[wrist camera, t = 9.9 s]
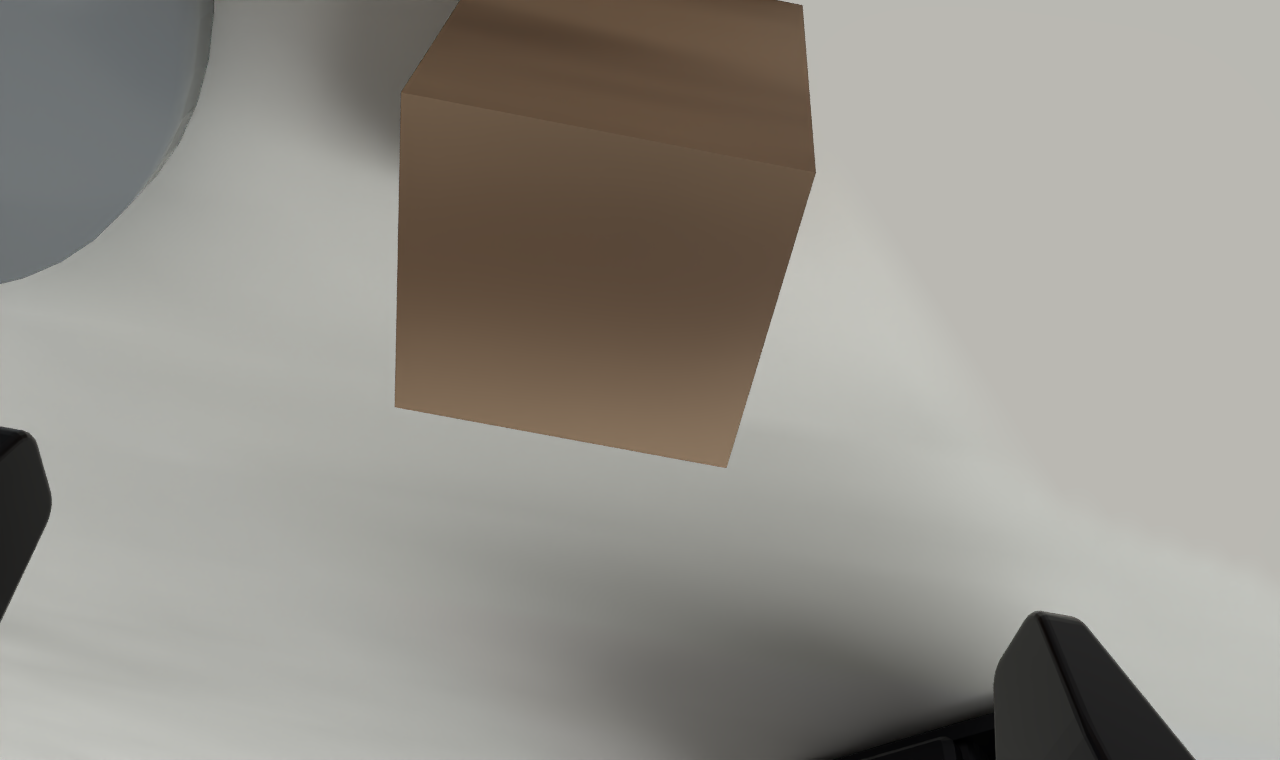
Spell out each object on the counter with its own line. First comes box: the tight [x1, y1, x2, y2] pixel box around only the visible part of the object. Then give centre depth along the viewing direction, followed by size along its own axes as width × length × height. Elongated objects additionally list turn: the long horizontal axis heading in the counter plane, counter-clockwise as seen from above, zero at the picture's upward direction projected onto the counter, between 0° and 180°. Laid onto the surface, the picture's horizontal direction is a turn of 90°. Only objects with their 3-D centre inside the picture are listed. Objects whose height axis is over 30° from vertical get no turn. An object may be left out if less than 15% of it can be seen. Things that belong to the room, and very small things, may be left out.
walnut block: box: [395, 0, 816, 468], centre depth 14 cm, size 4×4×5 cm
